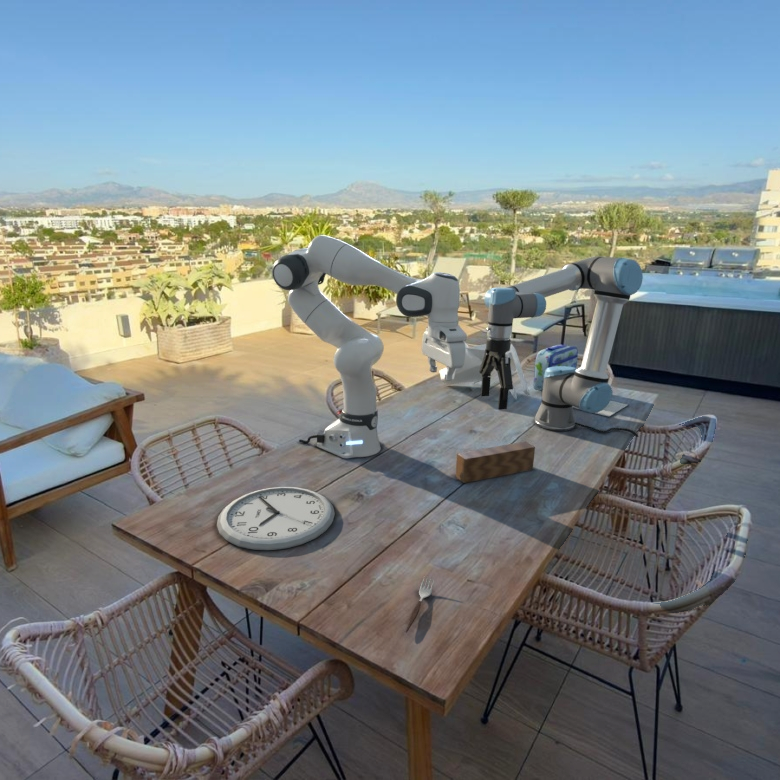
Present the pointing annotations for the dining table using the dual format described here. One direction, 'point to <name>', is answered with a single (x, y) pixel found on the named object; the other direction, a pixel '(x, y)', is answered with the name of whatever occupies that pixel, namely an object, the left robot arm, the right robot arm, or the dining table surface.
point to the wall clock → (275, 518)
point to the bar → (494, 461)
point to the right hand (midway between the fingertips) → (493, 402)
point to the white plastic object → (474, 363)
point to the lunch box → (553, 361)
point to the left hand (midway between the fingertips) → (440, 375)
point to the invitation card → (611, 408)
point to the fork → (423, 593)
